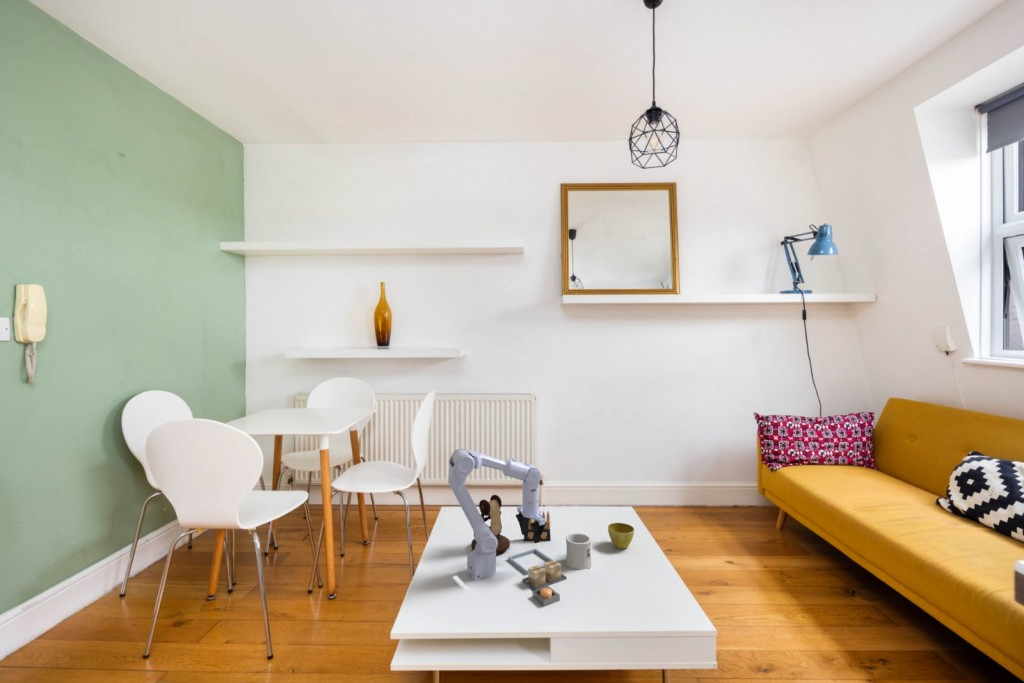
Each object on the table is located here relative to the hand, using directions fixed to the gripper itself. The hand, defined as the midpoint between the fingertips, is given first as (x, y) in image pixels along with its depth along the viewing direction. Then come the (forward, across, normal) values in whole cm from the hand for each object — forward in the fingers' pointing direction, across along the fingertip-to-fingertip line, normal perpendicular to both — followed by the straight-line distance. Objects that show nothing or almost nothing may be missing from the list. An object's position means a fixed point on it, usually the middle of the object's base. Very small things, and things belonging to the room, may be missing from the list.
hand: (530, 538), depth 163 cm
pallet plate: (+10, -11, +2) cm, 15 cm away
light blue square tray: (+10, +1, -1) cm, 10 cm away
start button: (+10, -20, +8) cm, 24 cm away
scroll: (+11, +20, +5) cm, 23 cm away
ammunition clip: (+11, +16, -14) cm, 24 cm away
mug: (+11, -7, -16) cm, 20 cm away
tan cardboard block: (+9, -11, -1) cm, 14 cm away
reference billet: (+9, -11, +5) cm, 15 cm away
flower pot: (+11, -5, -39) cm, 41 cm away
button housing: (+10, -20, +8) cm, 24 cm away
